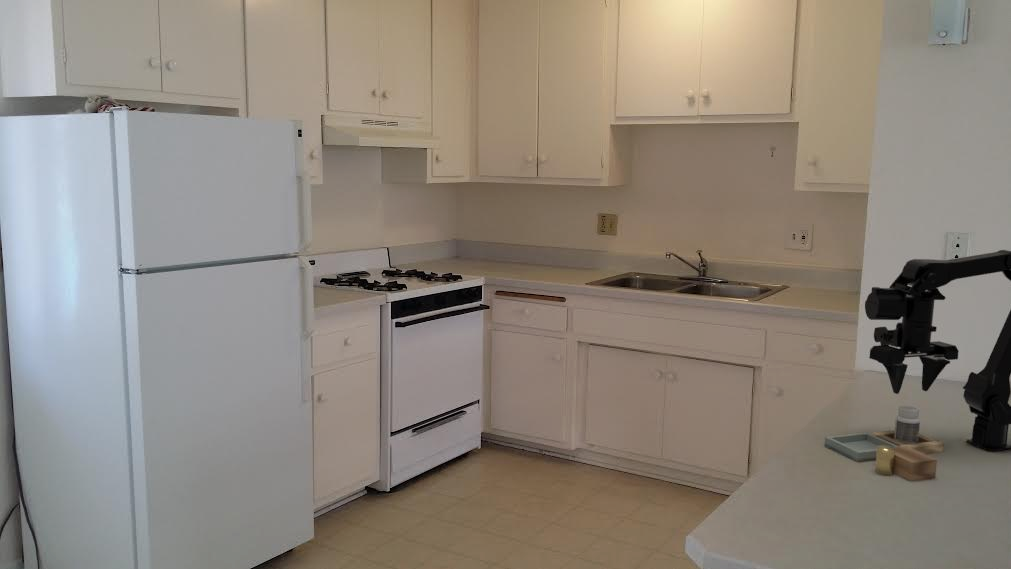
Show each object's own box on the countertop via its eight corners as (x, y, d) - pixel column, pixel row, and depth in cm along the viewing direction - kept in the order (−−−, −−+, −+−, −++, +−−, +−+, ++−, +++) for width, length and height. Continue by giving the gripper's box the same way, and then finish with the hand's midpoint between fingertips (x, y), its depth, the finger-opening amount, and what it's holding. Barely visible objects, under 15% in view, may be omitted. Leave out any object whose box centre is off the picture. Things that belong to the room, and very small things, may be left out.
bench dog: (884, 468, 169) (886, 444, 169) (896, 474, 166) (898, 449, 166) (871, 470, 168) (873, 445, 168) (883, 476, 165) (885, 451, 165)
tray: (866, 441, 186) (866, 432, 185) (900, 456, 176) (901, 447, 176) (824, 446, 182) (825, 437, 182) (857, 462, 173) (858, 452, 172)
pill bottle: (921, 450, 181) (925, 412, 179) (899, 449, 181) (902, 411, 179) (911, 442, 185) (914, 405, 184) (889, 442, 185) (893, 405, 184)
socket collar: (906, 436, 189) (907, 428, 189) (943, 451, 180) (943, 443, 180) (869, 440, 186) (869, 432, 186) (903, 456, 177) (904, 448, 176)
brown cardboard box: (904, 464, 172) (906, 445, 172) (935, 479, 165) (937, 459, 164) (880, 467, 171) (881, 448, 170) (910, 482, 163) (911, 462, 163)
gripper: (922, 311, 189) (915, 379, 192) (853, 314, 183) (848, 385, 186) (963, 320, 179) (956, 392, 181) (892, 325, 173) (886, 399, 175)
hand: (910, 392), depth 181 cm, fingers open, 7 cm apart
